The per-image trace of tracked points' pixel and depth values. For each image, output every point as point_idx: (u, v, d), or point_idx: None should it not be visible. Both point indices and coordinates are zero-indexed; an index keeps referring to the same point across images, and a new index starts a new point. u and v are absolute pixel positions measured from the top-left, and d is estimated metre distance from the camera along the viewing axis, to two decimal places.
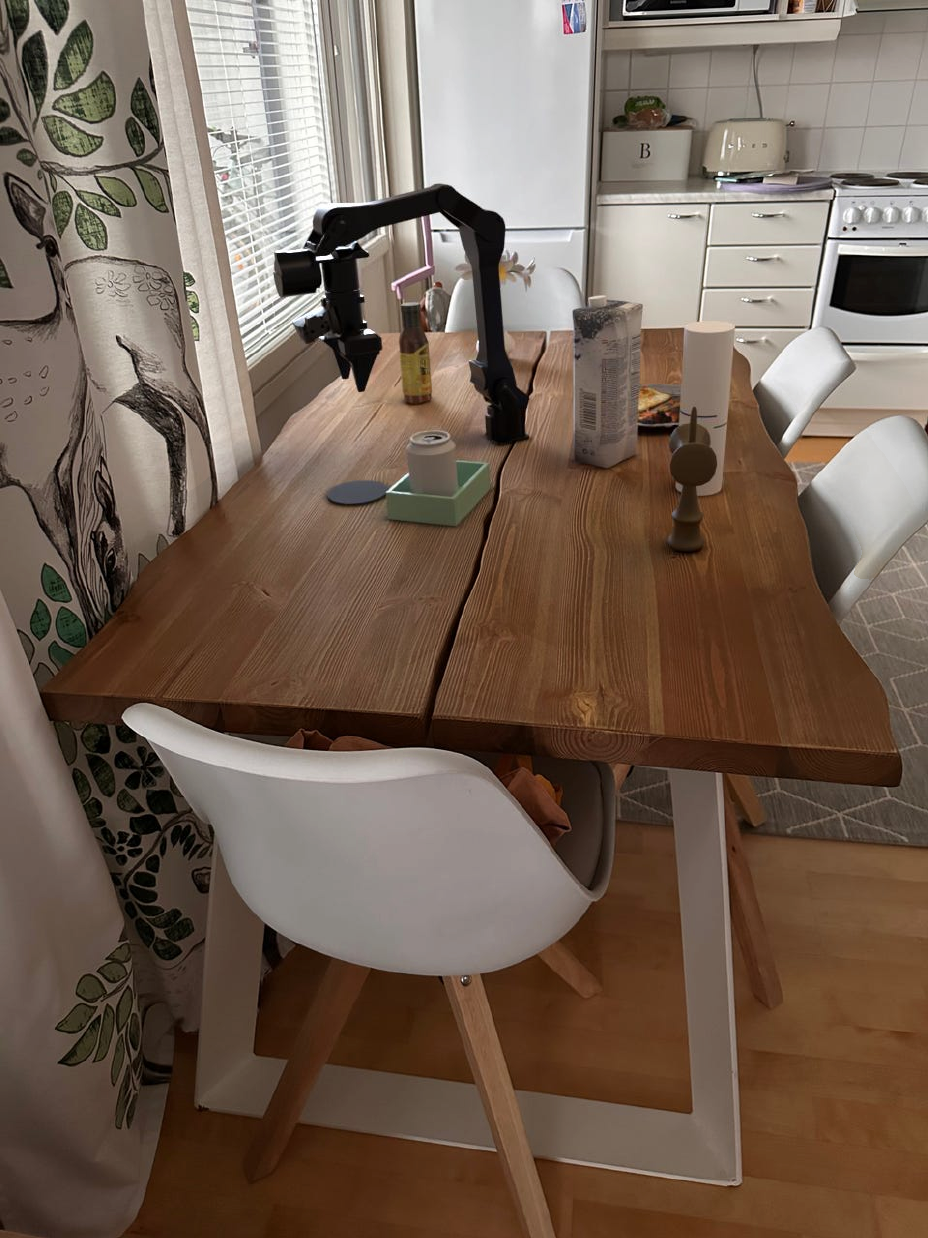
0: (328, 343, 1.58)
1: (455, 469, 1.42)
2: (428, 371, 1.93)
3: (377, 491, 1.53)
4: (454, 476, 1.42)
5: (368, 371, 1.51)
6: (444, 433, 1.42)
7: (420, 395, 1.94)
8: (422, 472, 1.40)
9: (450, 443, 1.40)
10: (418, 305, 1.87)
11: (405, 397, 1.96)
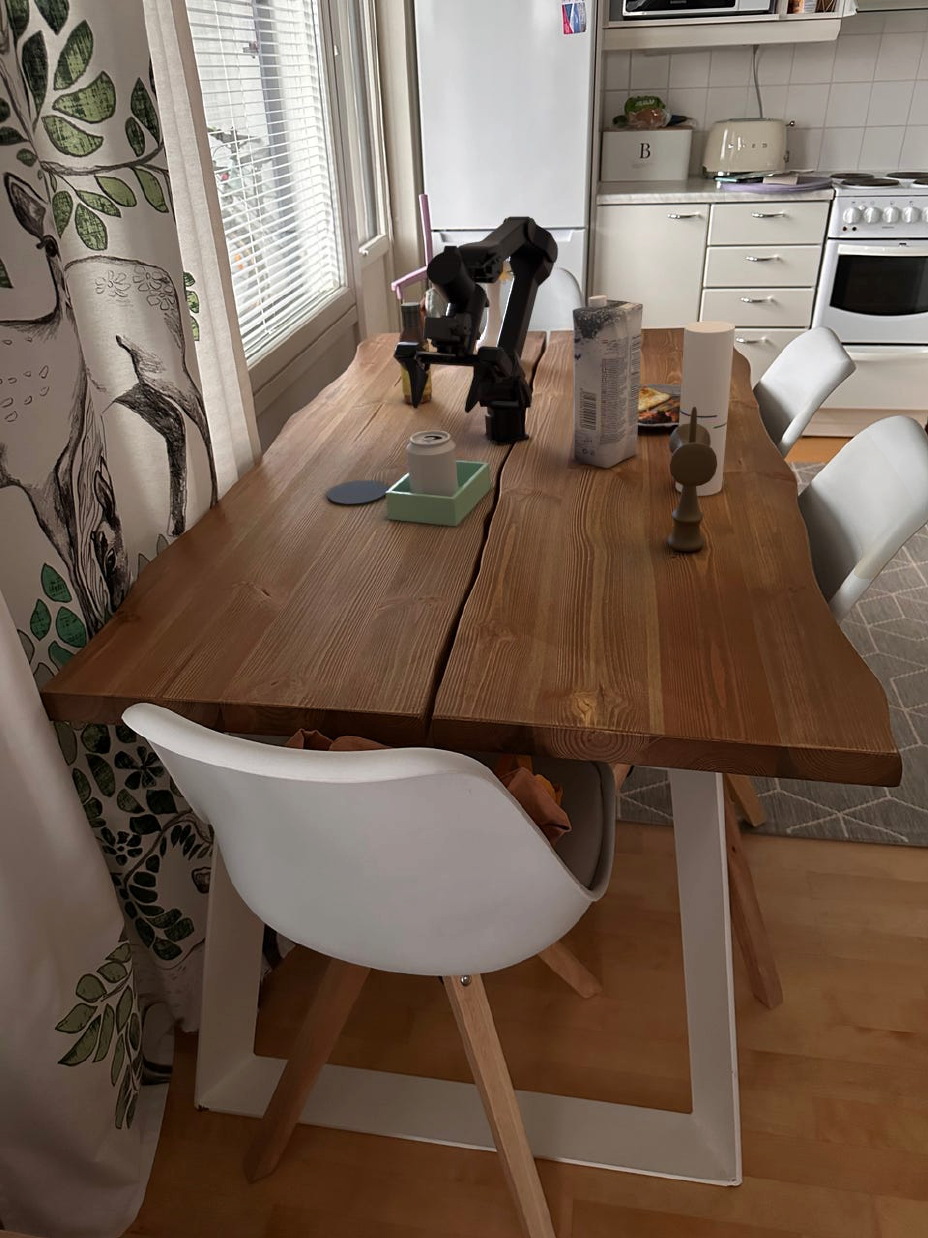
0: (416, 364, 1.47)
1: (455, 469, 1.42)
2: (428, 371, 1.93)
3: (377, 491, 1.53)
4: (454, 476, 1.42)
5: (481, 395, 1.46)
6: (444, 433, 1.42)
7: None
8: (422, 472, 1.40)
9: (450, 443, 1.40)
10: (418, 305, 1.87)
11: (405, 397, 1.96)
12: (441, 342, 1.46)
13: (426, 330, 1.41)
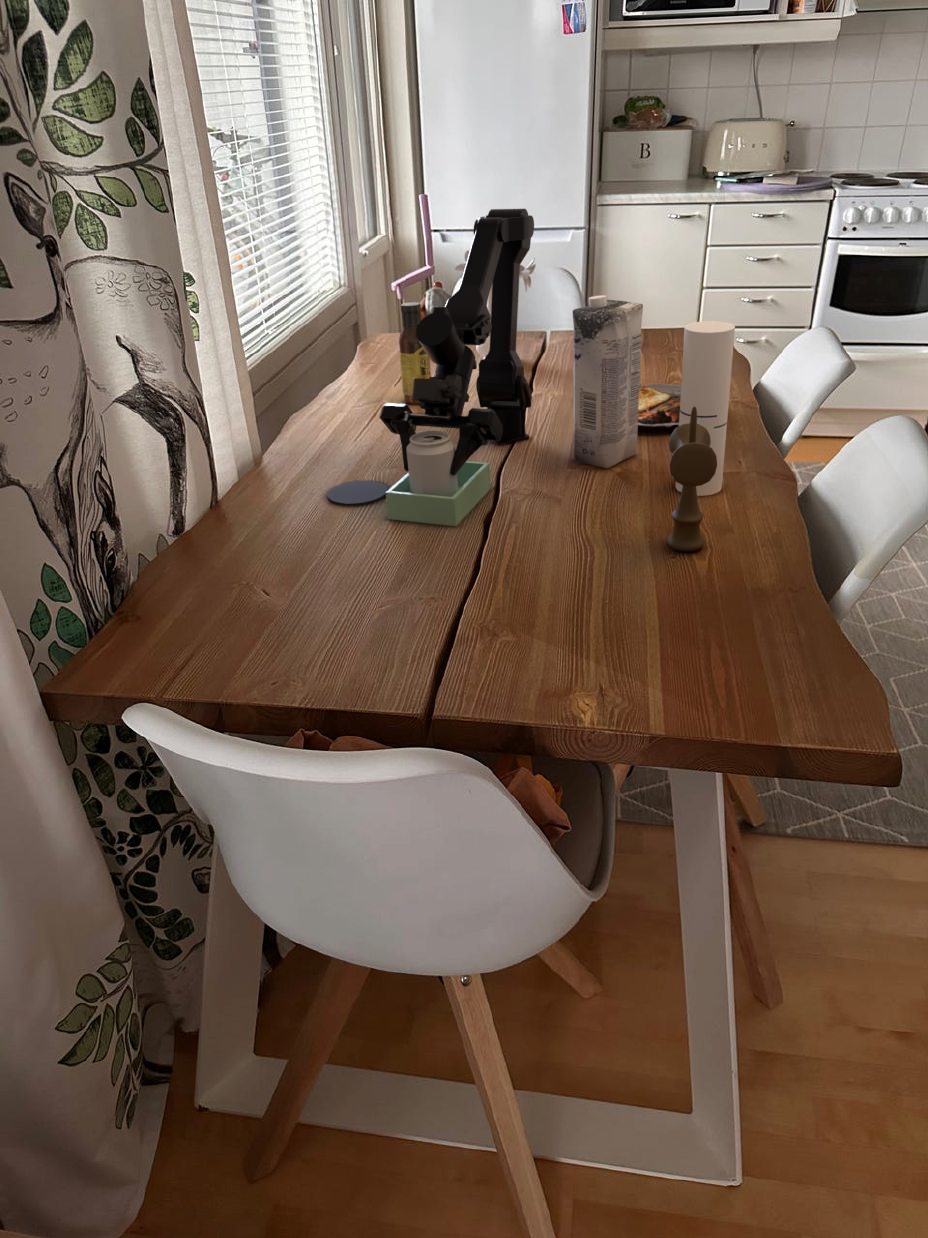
0: (408, 426, 1.43)
1: None
2: (428, 371, 1.93)
3: (377, 491, 1.53)
4: (454, 476, 1.42)
5: (466, 458, 1.42)
6: (444, 433, 1.42)
7: None
8: (422, 472, 1.40)
9: (450, 443, 1.40)
10: (418, 305, 1.87)
11: (405, 397, 1.96)
12: (430, 404, 1.42)
13: (416, 391, 1.37)
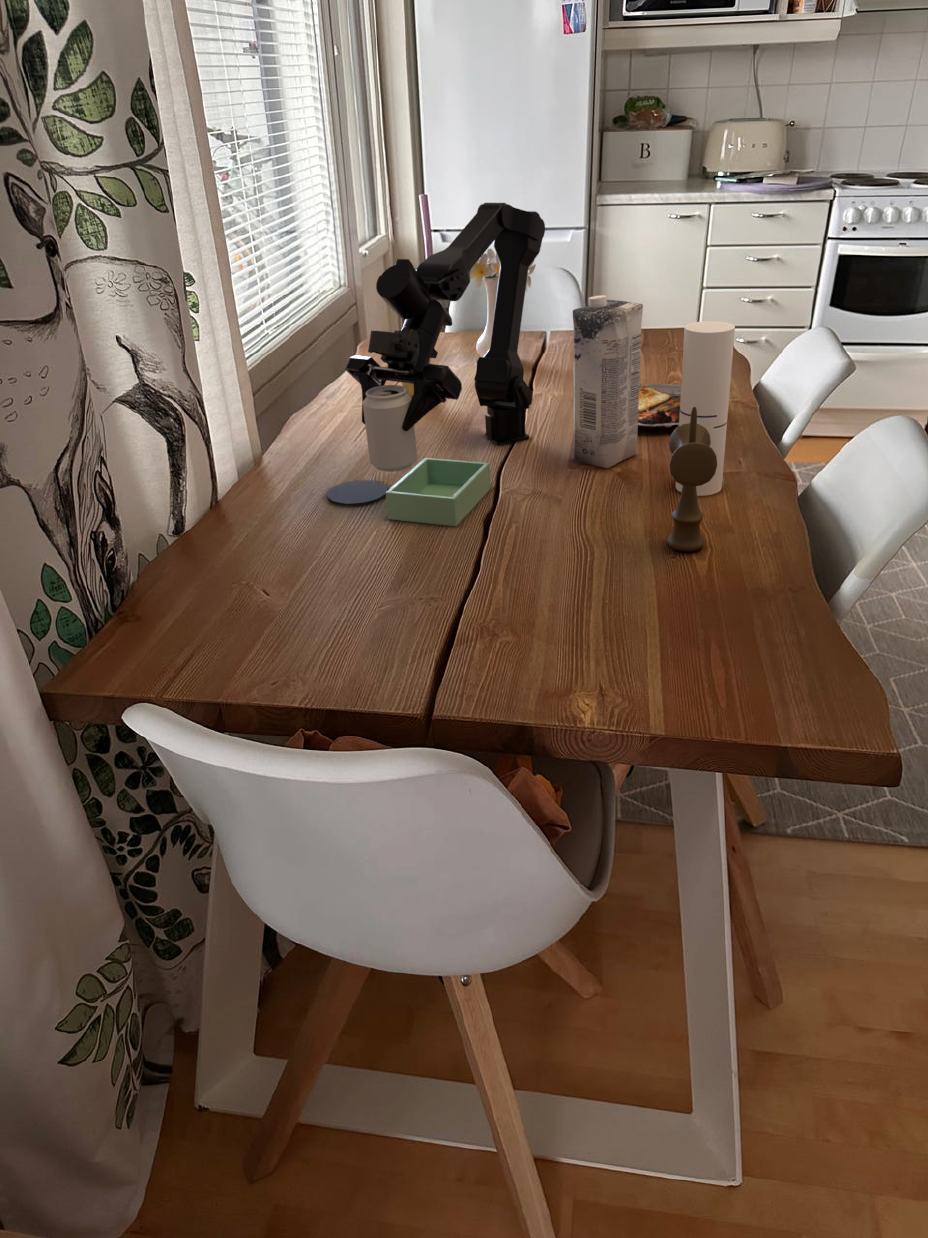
0: (369, 379, 1.43)
1: None
2: None
3: (377, 491, 1.53)
4: (407, 432, 1.41)
5: (422, 414, 1.40)
6: (402, 388, 1.41)
7: None
8: (374, 426, 1.39)
9: (404, 398, 1.39)
10: None
11: None
12: (391, 357, 1.41)
13: (371, 344, 1.37)
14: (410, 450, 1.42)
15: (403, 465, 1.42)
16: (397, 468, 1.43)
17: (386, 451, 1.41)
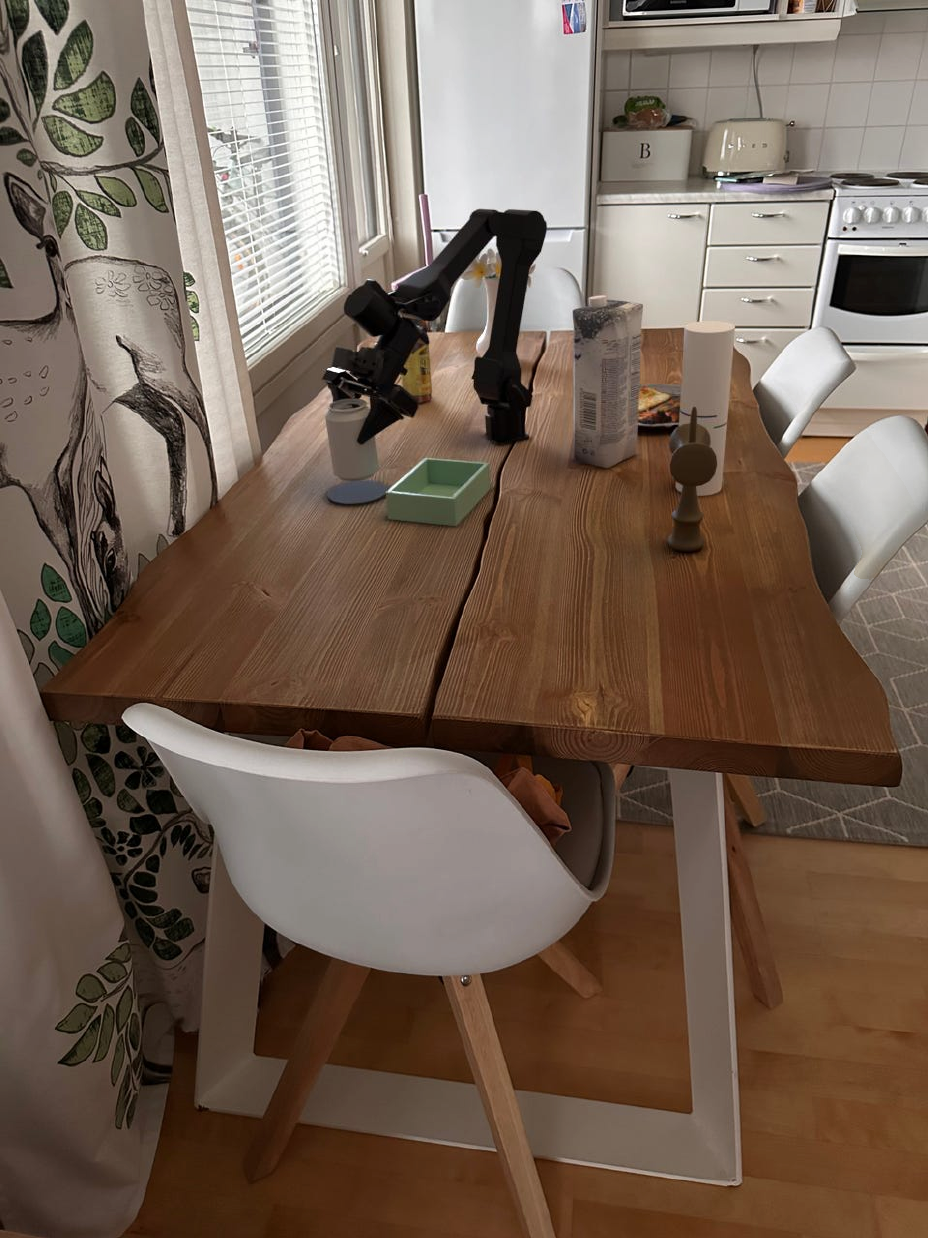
0: (338, 392, 1.50)
1: None
2: (428, 371, 1.93)
3: (377, 491, 1.53)
4: (363, 445, 1.46)
5: (378, 429, 1.46)
6: (364, 403, 1.47)
7: (420, 395, 1.94)
8: (332, 437, 1.46)
9: (361, 413, 1.45)
10: None
11: None
12: (357, 373, 1.47)
13: (333, 359, 1.44)
14: (367, 463, 1.48)
15: (359, 476, 1.49)
16: (353, 478, 1.49)
17: (342, 461, 1.47)
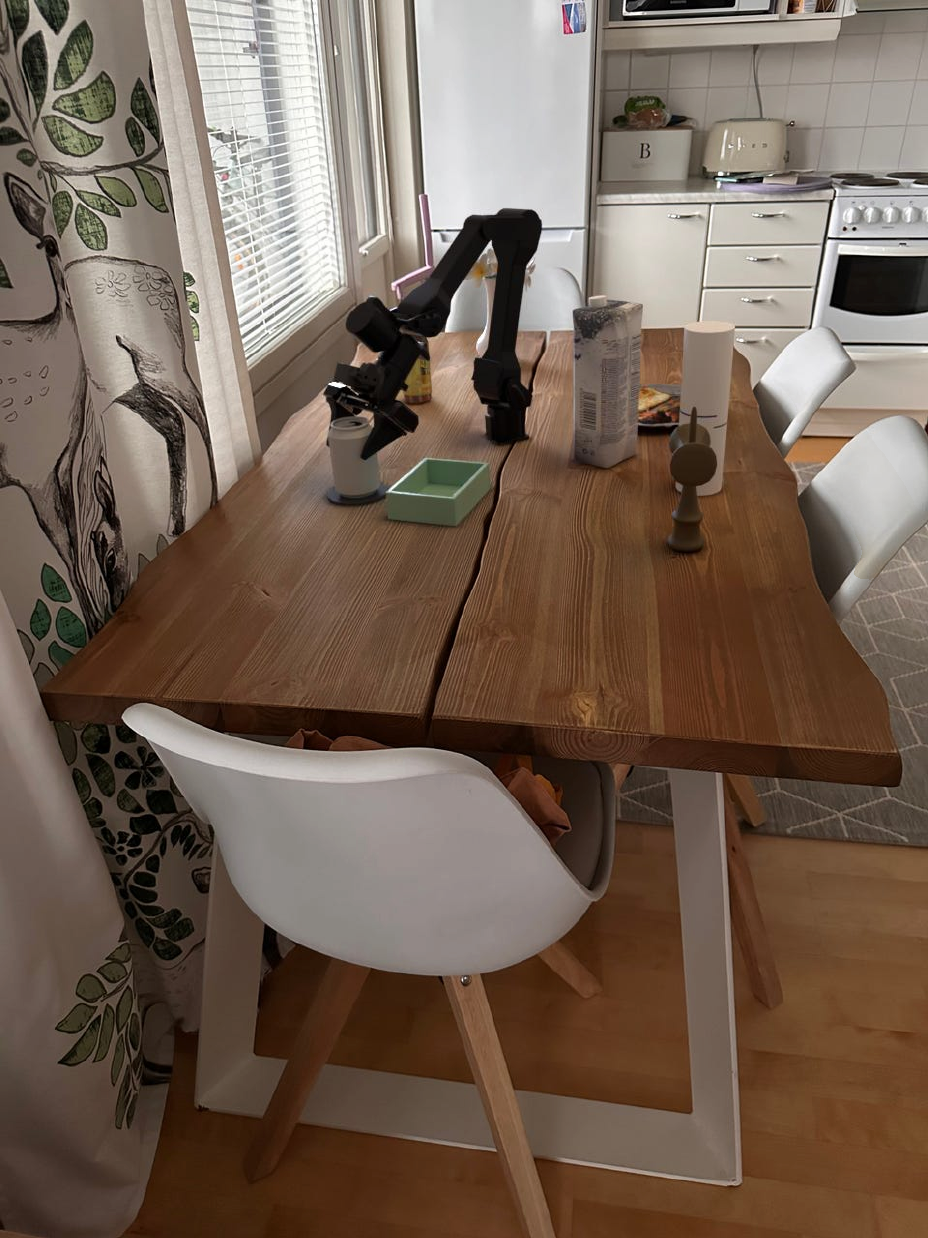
0: (336, 406, 1.51)
1: None
2: (428, 371, 1.93)
3: (377, 491, 1.53)
4: (365, 462, 1.48)
5: (382, 445, 1.46)
6: (366, 421, 1.48)
7: (420, 395, 1.94)
8: (334, 454, 1.48)
9: (363, 431, 1.46)
10: None
11: (405, 397, 1.96)
12: (359, 388, 1.48)
13: (335, 374, 1.45)
14: (369, 480, 1.50)
15: (360, 493, 1.50)
16: (355, 495, 1.50)
17: (344, 479, 1.49)
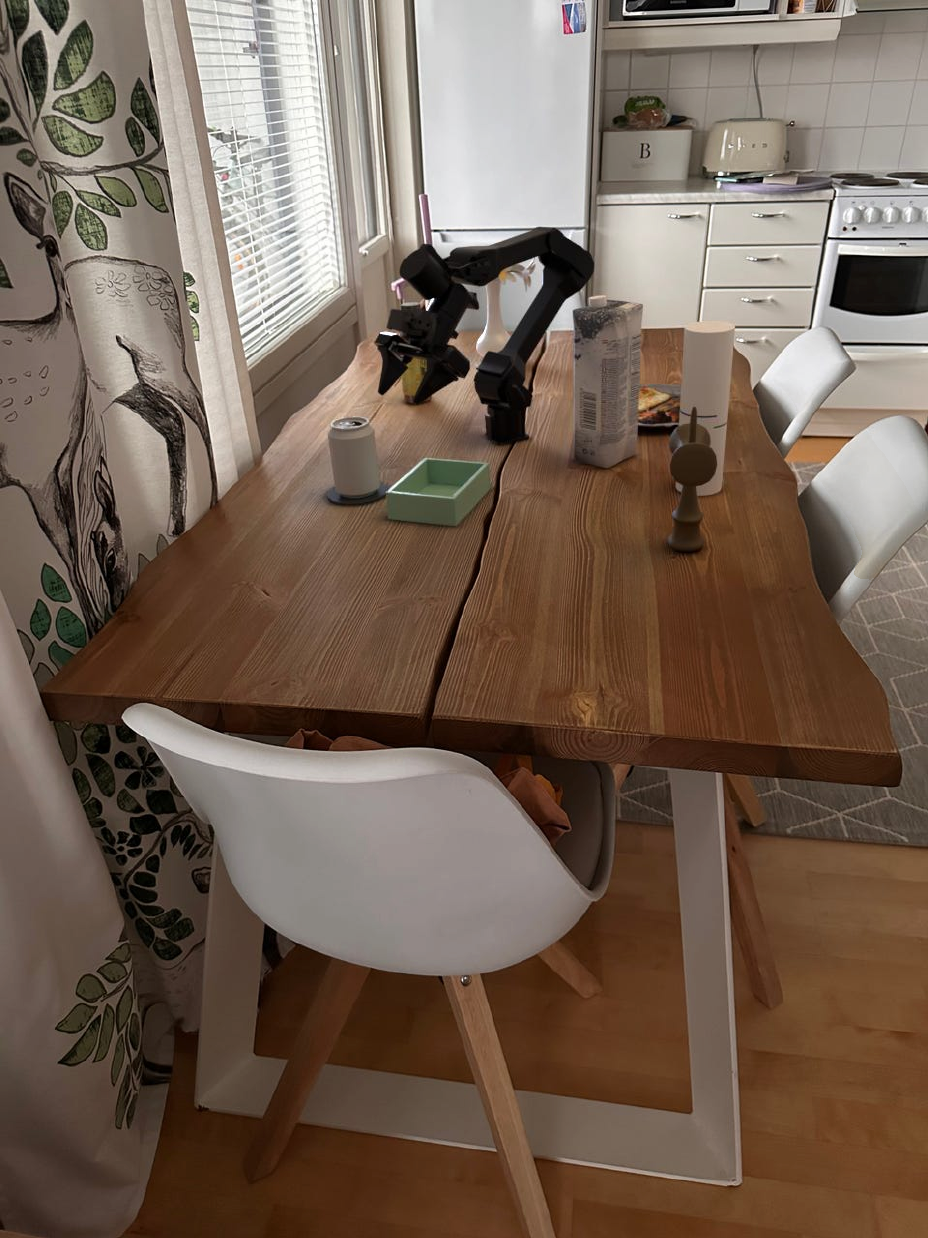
0: (388, 354, 1.55)
1: (368, 456, 1.48)
2: None
3: (377, 491, 1.53)
4: (365, 462, 1.48)
5: (434, 390, 1.50)
6: (366, 421, 1.48)
7: None
8: (334, 454, 1.48)
9: (363, 431, 1.46)
10: (418, 305, 1.87)
11: (405, 397, 1.96)
12: (410, 335, 1.52)
13: (388, 321, 1.48)
14: (369, 480, 1.50)
15: (360, 493, 1.50)
16: (355, 495, 1.50)
17: (344, 479, 1.49)
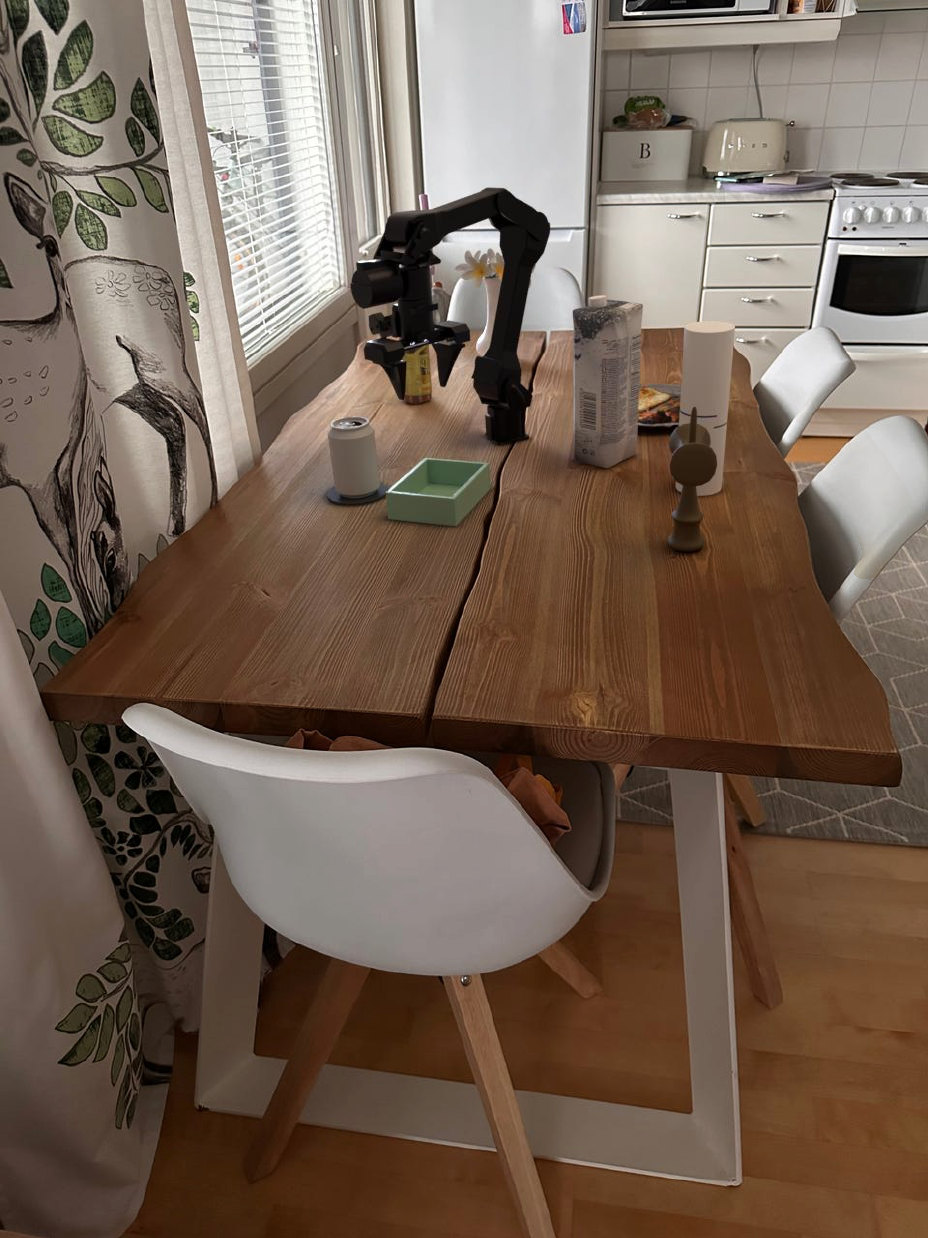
0: (434, 347, 1.58)
1: (368, 456, 1.48)
2: (428, 371, 1.93)
3: (377, 491, 1.53)
4: (365, 462, 1.48)
5: (398, 382, 1.51)
6: (366, 421, 1.48)
7: (420, 395, 1.94)
8: (334, 454, 1.48)
9: (363, 431, 1.46)
10: None
11: (405, 397, 1.96)
12: None
13: None
14: (369, 480, 1.50)
15: (360, 493, 1.50)
16: (355, 495, 1.50)
17: (344, 479, 1.49)
